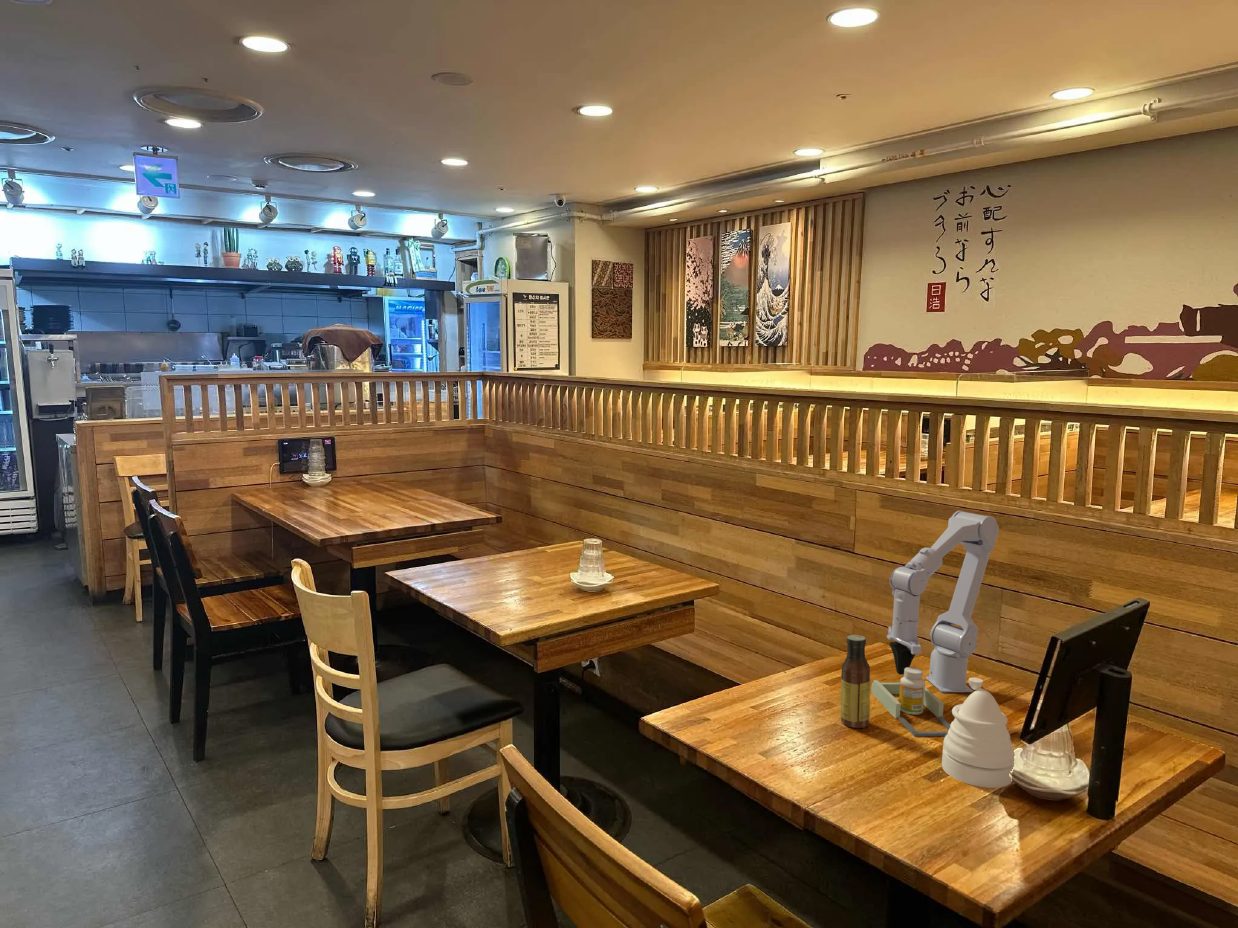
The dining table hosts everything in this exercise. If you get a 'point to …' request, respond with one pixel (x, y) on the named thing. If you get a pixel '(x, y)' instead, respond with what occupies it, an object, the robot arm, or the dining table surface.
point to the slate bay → (926, 733)
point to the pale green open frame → (893, 706)
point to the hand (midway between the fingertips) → (901, 673)
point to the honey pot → (978, 742)
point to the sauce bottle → (855, 684)
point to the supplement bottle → (912, 691)
